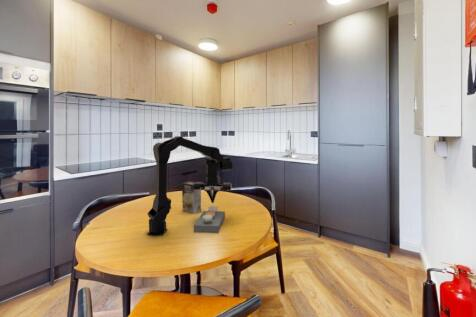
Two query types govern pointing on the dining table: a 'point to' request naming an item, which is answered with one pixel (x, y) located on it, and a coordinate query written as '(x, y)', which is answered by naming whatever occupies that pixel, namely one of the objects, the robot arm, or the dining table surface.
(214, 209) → the button offwhite
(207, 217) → the button sage
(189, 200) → the coffee box
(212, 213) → the button terracotta
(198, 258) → the dining table surface
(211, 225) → the button panel
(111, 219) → the dining table surface
